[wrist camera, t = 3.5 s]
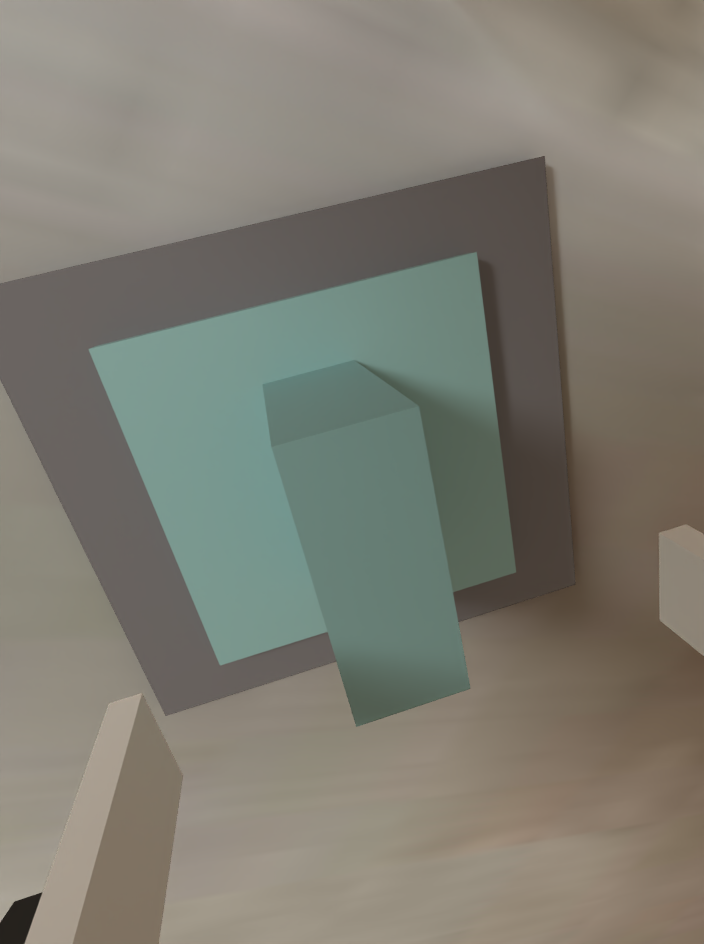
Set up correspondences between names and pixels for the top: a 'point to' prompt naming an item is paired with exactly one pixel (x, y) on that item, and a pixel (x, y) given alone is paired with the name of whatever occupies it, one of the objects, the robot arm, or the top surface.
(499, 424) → the mat
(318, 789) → the top surface
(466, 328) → the lid
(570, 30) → the top surface
